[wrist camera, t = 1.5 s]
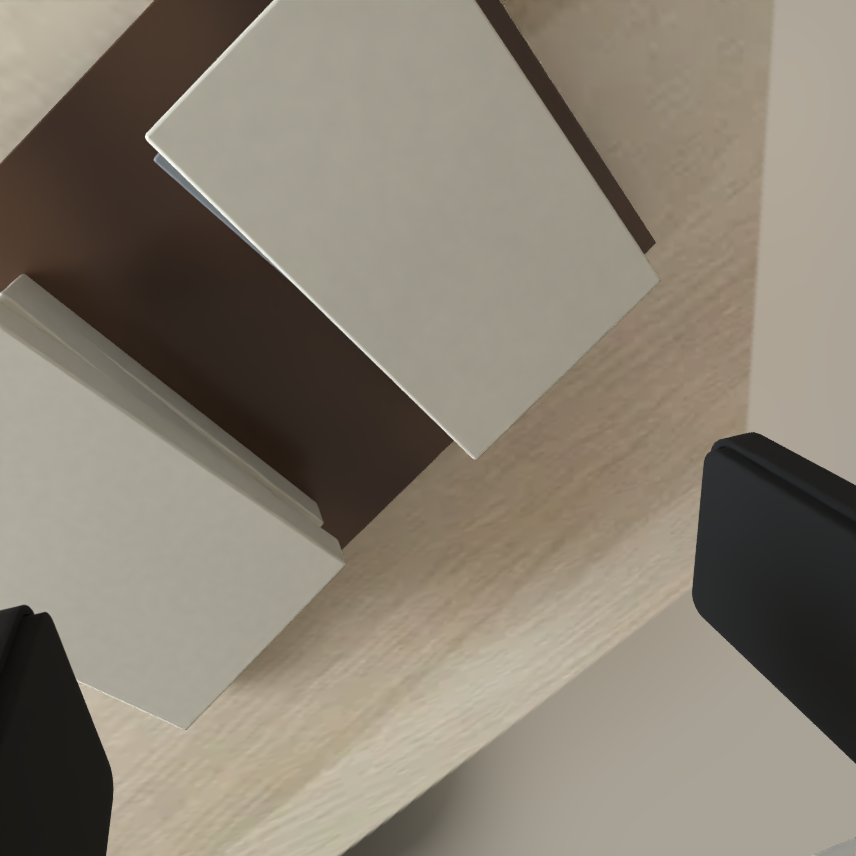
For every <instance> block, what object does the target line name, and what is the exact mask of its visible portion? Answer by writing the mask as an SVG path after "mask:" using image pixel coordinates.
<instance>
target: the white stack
mask: <svg viewBox="0 0 856 856" xmlns="http://www.w3.org/2000/svg"><path fill="white" fill-rule="evenodd" d="M323 523H324V522H323V519H322V516H321V514H320V511H319V508H318V505H317V503H316V502H315V501H313V500H312V499H311V498H310V497H308V496H307V495H306V494H304V493H303V492H302V491H301V490H299V489H298V488H297V487H296V486H294V485H293V484H292V483H290V482H289V481H288V480H287V479H285V478H284V477H283V476H282V475H280V474H279V473H278V472H276V471H275V470H274V469H273V468H271V467H270V466H269V465H268V464H266V463H265V462H264V461H262V460H261V459H260V458H259V457H257V456H256V455H255V454H253V453H252V452H251V451H250V450H248V449H247V448H246V447H245V446H243V445H242V444H241V443H239V442H238V441H237V440H236V439H234V438H233V437H232V436H231V435H229V434H228V433H227V432H225V431H224V430H223V429H222V428H220V427H219V426H218V425H217V424H215V423H214V422H213V421H211V420H210V419H209V418H208V417H206V416H205V415H204V414H203V413H201V412H200V411H199V410H197V409H196V408H195V407H194V406H192V405H191V404H190V403H189V402H187V401H186V400H185V399H183V398H182V397H181V396H180V395H178V394H177V393H176V392H175V391H173V390H172V389H171V388H169V387H168V386H167V385H166V384H164V383H163V382H162V381H161V380H159V379H158V378H157V377H155V376H154V375H153V374H152V373H150V372H149V371H148V370H147V369H145V368H144V367H143V366H141V365H140V364H139V363H138V362H136V361H135V360H134V359H133V358H131V357H130V356H129V355H127V354H126V353H125V352H124V351H122V350H121V349H120V348H119V347H117V346H116V345H115V344H113V343H112V342H111V341H110V340H108V339H107V338H106V337H105V336H103V335H102V334H101V333H99V332H98V331H97V330H96V329H94V328H93V327H92V326H91V325H89V324H88V323H87V322H85V321H84V320H83V319H82V318H80V317H79V316H78V315H77V314H75V313H74V312H73V311H71V310H70V309H69V308H68V307H66V306H65V305H64V304H63V303H61V302H60V301H59V300H57V299H56V298H55V297H54V296H52V295H51V294H50V293H48V292H47V291H46V290H45V289H43V288H42V287H41V286H40V285H38V284H37V283H36V282H34V281H33V280H32V279H31V278H29V277H28V276H27V275H25V274H22V275H20V276H19V277H18V278H17V279H15V280H14V281H13V282H12V283H11V284H10V285H9V286H8V287H7V288H6V289H4V290H3V291H2V292H1V293H0V610H3V609H8V608H12V607H16V606H20V605H24V604H25V605H27V606H29V607H30V608H31V609H32V610H33V612H34V614H38V613H42V612H47V613H49V615H50V616H51V617H52V619H53V621H54V624H55V627H56V629H57V632H58V634H59V637H60V639H61V642H62V644H63V647H64V649H65V652H66V655H67V657H68V660H69V662H70V665H71V667H72V670H73V672H74V675H75V677H76V680H77V681H78V682H80V683H82V684H84V685H87V686H89V687H91V688H93V689H95V690H97V691H100V692H102V693H104V694H106V695H108V696H111V697H113V698H115V699H117V700H119V701H121V702H124V703H126V704H128V705H130V706H132V707H135V708H137V709H139V710H141V711H143V712H146V713H148V714H150V715H152V716H154V717H156V718H159V719H161V720H163V721H165V722H167V723H170V724H172V725H174V726H176V727H178V728H180V729H183V730H187V729H188V728H189V727H190V726H191V725H192V724H193V723H194V722H195V721H196V720H197V719H198V718H199V717H200V716H201V715H202V714H203V712H204V711H205V710H206V709H207V708H208V707H209V706H210V705H211V704H212V703H213V702H214V701H215V700H216V699H217V698H218V697H219V696H220V695H221V694H222V693H223V692H224V691H225V690H226V689H227V688H228V687H229V686H230V685H231V683H232V682H233V681H234V680H235V679H236V678H237V677H238V676H239V675H240V674H241V673H242V672H243V671H244V670H245V669H246V668H247V667H248V666H249V665H250V664H251V663H252V662H253V661H254V660H255V659H256V658H257V657H258V656H259V654H260V653H261V652H262V651H263V650H264V649H265V648H266V647H267V646H268V645H269V644H270V643H271V642H272V641H273V640H274V639H275V638H276V637H277V636H278V635H279V634H280V633H281V632H282V631H283V630H284V629H285V628H286V627H287V625H288V624H289V623H290V622H291V621H292V620H293V619H294V618H295V617H296V616H297V615H298V614H299V613H300V612H301V611H302V610H303V609H304V608H305V607H306V606H307V605H308V604H309V603H310V602H311V601H312V600H313V599H314V598H315V597H316V595H317V594H318V593H319V592H320V591H321V590H322V589H323V588H324V587H325V586H326V585H327V584H328V583H329V582H330V581H331V580H332V579H333V578H334V577H335V576H336V575H337V574H338V573H339V572H340V571H341V570H342V569H343V568H344V566H345V565H346V561H345V558H344V555H343V553H342V550H341V547H340V544H339V542H338V540H337V539H336V538H335V537H333V536H332V535H330V534H329V533H328V532H326V531H325V530H323V529H322V528H321V526H322V525H323Z"/></svg>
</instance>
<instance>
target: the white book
mask: <svg viewBox="0 0 856 856" xmlns="http://www.w3.org/2000/svg"><path fill="white" fill-rule="evenodd" d="M145 138H146V140H147V141H148V142H149V143H150V144H151V145H152V146H153V147H154V148H155V149H156V150H157V151H158V152H159V153H160V154H161V155H162V156H163V157H164V158H165V159H166V160H167V161H168V162H169V163H170V164H171V165H172V166H173V167H174V168H175V169H176V170H177V171H178V172H179V173H180V174H181V175H182V176H183V177H184V178H186V179H187V180H188V181H189V182H190V183H191V184H192V185H193V186H194V187H195V188H196V189H197V190H198V191H199V192H200V193H201V194H202V195H203V196H204V197H205V198H206V199H207V200H208V201H209V202H210V203H211V204H212V205H213V206H214V207H215V208H216V209H217V210H218V211H219V212H220V213H221V214H222V215H223V216H224V217H225V218H227V219H228V220H229V221H230V222H231V223H232V224H233V225H234V226H235V227H236V228H237V229H238V230H239V231H240V232H241V233H242V234H243V235H244V236H245V237H246V238H247V239H248V240H249V241H250V242H251V243H252V244H253V245H254V246H255V247H256V248H257V249H258V250H259V251H260V252H261V253H262V254H263V255H264V256H265V257H266V258H268V259H269V260H270V261H271V262H272V263H273V264H274V265H275V266H276V267H277V268H278V269H279V270H280V271H281V272H282V273H283V274H284V275H285V276H286V277H287V278H288V279H289V280H290V281H291V282H292V283H293V284H294V285H295V286H296V287H297V288H298V289H299V290H300V291H301V292H302V293H303V294H304V295H305V296H306V297H307V298H308V299H310V300H311V301H312V302H313V303H314V304H315V305H316V306H317V307H318V308H319V309H320V310H321V311H322V312H323V313H324V314H325V315H326V316H327V317H328V318H329V319H330V320H331V321H332V322H333V323H334V324H335V325H336V326H337V327H338V328H339V329H340V330H341V331H342V332H343V333H344V334H345V335H346V336H347V337H348V338H349V339H351V340H352V341H353V342H354V343H355V344H356V345H357V346H358V347H359V348H360V349H361V350H362V351H363V352H364V353H365V354H366V355H367V356H368V357H369V358H370V359H371V360H372V361H373V362H374V363H375V364H376V365H377V366H378V367H379V368H380V369H381V370H382V371H383V372H384V373H385V374H386V375H387V376H388V377H389V378H390V379H392V380H393V381H394V382H395V383H396V384H397V385H398V386H399V387H400V388H401V389H402V390H403V391H404V392H405V393H406V394H407V395H408V396H409V397H410V398H411V399H412V400H413V401H414V402H415V403H416V404H417V405H418V406H419V407H420V408H421V409H422V410H423V411H424V412H425V413H426V414H427V415H428V416H429V417H430V418H431V419H433V420H434V421H435V422H436V423H437V424H438V425H439V426H440V427H441V428H442V429H443V430H444V431H445V432H446V433H447V434H448V435H449V436H450V437H451V438H452V439H453V440H454V441H455V442H456V443H457V444H458V445H459V446H460V447H461V448H462V449H463V450H464V451H465V452H466V453H467V454H468V455H469V456H470V457H471V458H472V459H475V460H477V459H478V458H479V457H480V456H481V455H482V454H483V453H484V452H485V451H486V450H487V449H488V448H490V447H491V446H492V445H493V444H494V443H495V442H496V441H497V440H498V439H499V438H500V437H501V436H502V435H503V434H504V433H505V432H506V431H507V430H508V429H509V428H510V427H511V426H512V425H513V424H514V423H515V422H516V421H517V420H518V419H519V418H520V417H521V416H522V415H523V414H524V413H526V412H527V411H528V410H529V409H530V408H531V407H532V406H533V405H534V404H535V403H536V402H537V401H538V400H539V399H540V398H541V397H542V396H543V395H544V394H545V393H546V392H547V391H548V390H549V389H550V388H551V387H552V386H553V385H554V384H555V383H556V382H557V381H558V380H559V379H560V378H562V377H563V376H564V375H565V374H566V373H567V372H568V371H569V370H570V369H571V368H572V367H573V366H574V365H575V364H576V363H577V362H578V361H579V360H580V359H581V358H582V357H583V356H584V355H585V354H586V353H587V352H588V351H589V350H590V349H591V348H592V347H593V346H594V345H595V344H596V343H598V342H599V341H600V340H601V339H602V338H603V337H604V336H605V335H606V334H607V333H608V332H609V331H610V330H611V329H612V328H613V327H614V326H615V325H616V324H617V323H618V322H619V321H620V320H621V319H622V318H623V317H624V316H625V315H626V314H627V313H628V312H629V311H630V310H631V309H632V308H634V307H635V306H636V305H637V304H638V303H639V302H640V301H641V300H642V299H643V298H644V297H645V296H646V295H647V294H648V293H649V292H650V291H651V290H652V289H653V288H654V287H655V286H656V285H657V284H658V283H659V282H660V277H659V276H658V274H657V273H656V271H655V270H654V268H653V267H652V265H651V264H650V262H649V261H648V259H647V258H646V256H645V255H644V253H643V252H642V250H641V249H640V247H639V246H638V244H637V243H636V241H635V240H634V238H633V237H632V235H631V234H630V232H629V231H628V229H627V228H626V226H625V225H624V223H623V222H622V220H621V219H620V217H619V216H618V214H617V213H616V211H615V210H614V208H613V207H612V205H611V204H610V202H609V201H608V199H607V198H606V196H605V195H604V193H603V192H602V190H601V189H600V187H599V186H598V184H597V183H596V181H595V180H594V178H593V177H592V175H591V174H590V172H589V171H588V169H587V168H586V166H585V165H584V163H583V162H582V160H581V159H580V157H579V156H578V154H577V153H576V151H575V150H574V148H573V147H572V145H571V144H570V142H569V141H568V139H567V138H566V136H565V135H564V133H563V132H562V130H561V129H560V127H559V126H558V124H557V123H556V121H555V120H554V118H553V117H552V115H551V114H550V112H549V111H548V109H547V108H546V106H545V105H544V103H543V102H542V100H541V99H540V97H539V96H538V94H537V93H536V91H535V90H534V88H533V87H532V85H531V84H530V82H529V81H528V79H527V78H526V76H525V74H524V73H523V71H522V70H521V68H520V67H519V65H518V64H517V62H516V61H515V59H514V58H513V56H512V55H511V53H510V52H509V50H508V49H507V47H506V46H505V44H504V43H503V41H502V40H501V38H500V37H499V35H498V34H497V32H496V31H495V29H494V28H493V26H492V25H491V23H490V22H489V20H488V19H487V17H486V16H485V14H484V13H483V11H482V10H481V8H480V7H479V5H478V4H477V2H476V1H475V0H273V1H272V2H271V3H270V4H269V5H268V7H267V8H266V9H265V10H264V11H263V12H262V13H261V14H260V15H259V16H258V17H257V18H256V19H255V20H254V21H253V22H252V23H251V24H250V25H249V26H248V27H247V28H246V30H245V31H244V32H243V33H242V34H241V35H240V36H239V37H238V38H237V39H236V40H235V41H234V42H233V43H232V44H231V45H230V46H229V47H228V48H227V49H226V50H225V51H224V53H223V54H222V55H221V56H220V57H219V58H218V59H217V60H216V61H215V62H214V63H213V64H212V65H211V66H210V67H209V68H208V69H207V70H206V71H205V72H204V73H203V74H202V75H201V77H200V78H199V79H198V80H197V81H196V82H195V83H194V84H193V85H192V86H191V87H190V88H189V89H188V90H187V91H186V92H185V93H184V94H183V95H182V96H181V97H180V98H179V100H178V101H177V102H176V103H175V104H174V105H173V106H172V107H171V108H170V109H169V110H168V111H167V112H166V113H165V114H164V115H163V116H162V117H161V118H160V119H159V120H158V121H157V123H156V124H155V125H154V126H153V127H152V128H151V129H150V130H149V131H148V132H147V133H146V135H145Z"/></svg>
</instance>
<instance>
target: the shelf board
mask: <svg viewBox="0 0 856 856" xmlns="http://www.w3.org/2000/svg"><path fill="white" fill-rule="evenodd" d="M272 1H273V0H154V1H153V2H152V3H151V5H150V6H149V7H148V8H147V9H146V10H145V11H144V12H143V13H142V14H141V15H140V16H139V17H138V18H137V19H136V20H135V21H134V23H133V24H132V25H131V26H130V27H129V28H128V29H127V30H126V31H125V32H124V33H123V34H122V35H121V36H120V37H119V38H118V39H117V41H116V42H115V43H114V44H113V45H112V46H111V47H110V48H109V49H108V50H107V51H106V52H105V53H104V54H103V55H102V56H101V57H100V59H99V60H98V61H97V62H96V63H95V64H94V65H93V66H92V67H91V68H90V69H89V70H88V71H87V72H86V73H85V74H84V75H83V77H82V78H81V79H80V80H79V81H78V82H77V83H76V84H75V85H74V86H73V87H72V88H71V89H70V90H69V91H68V92H67V93H66V95H65V96H64V97H63V98H62V99H61V100H60V101H59V102H58V103H57V104H56V105H55V106H54V107H53V108H52V109H51V110H50V111H49V113H48V114H47V115H46V116H45V117H44V118H43V119H42V120H41V121H40V122H39V123H38V124H37V125H36V126H35V127H34V128H33V129H32V131H31V132H30V133H29V134H28V135H27V136H26V137H25V138H24V139H23V140H22V141H21V142H20V143H19V144H18V145H17V146H16V147H15V149H14V150H13V151H12V152H11V153H10V154H9V155H8V156H7V157H6V158H5V159H4V160H3V161H2V162H1V163H0V293H1V292H2V291H3V290H4V289H6V288H7V287H8V286H9V285H10V284H11V283H12V282H13V281H14V280H15V279H17V278H18V277H19V276H20V275H22V274H25V275H27V276H28V277H29V278H31V279H32V280H33V281H34V282H36V283H37V284H38V285H40V286H41V287H42V288H43V289H45V290H46V291H47V292H48V293H50V294H51V295H52V296H54V297H55V298H56V299H57V300H59V301H60V302H61V303H63V304H64V305H65V306H66V307H68V308H69V309H70V310H71V311H73V312H74V313H75V314H77V315H78V316H79V317H80V318H82V319H83V320H84V321H85V322H87V323H88V324H89V325H91V326H92V327H93V328H94V329H96V330H97V331H98V332H99V333H101V334H102V335H103V336H105V337H106V338H107V339H108V340H110V341H111V342H112V343H113V344H115V345H116V346H117V347H119V348H120V349H121V350H122V351H124V352H125V353H126V354H127V355H129V356H130V357H131V358H133V359H134V360H135V361H136V362H138V363H139V364H140V365H141V366H143V367H144V368H145V369H147V370H148V371H149V372H150V373H152V374H153V375H154V376H155V377H157V378H158V379H159V380H161V381H162V382H163V383H164V384H166V385H167V386H168V387H169V388H171V389H172V390H173V391H175V392H176V393H177V394H178V395H180V396H181V397H182V398H183V399H185V400H186V401H187V402H189V403H190V404H191V405H192V406H194V407H195V408H196V409H197V410H199V411H200V412H201V413H203V414H204V415H205V416H206V417H208V418H209V419H210V420H211V421H213V422H214V423H215V424H217V425H218V426H219V427H220V428H222V429H223V430H224V431H225V432H227V433H228V434H229V435H231V436H232V437H233V438H234V439H236V440H237V441H238V442H239V443H241V444H242V445H243V446H245V447H246V448H247V449H248V450H250V451H251V452H252V453H253V454H255V455H256V456H257V457H259V458H260V459H261V460H262V461H264V462H265V463H266V464H268V465H269V466H270V467H271V468H273V469H274V470H275V471H276V472H278V473H279V474H280V475H282V476H283V477H284V478H285V479H287V480H288V481H289V482H290V483H292V484H293V485H294V486H296V487H297V488H298V489H299V490H301V491H302V492H303V493H304V494H306V495H307V496H308V497H310V498H311V499H312V500H313V501H315V502H316V503H317V505H318V508H319V511H320V514H321V516H322V519H323V522H324V523H323V525H322V526H321V528H322V529H323V530H325V531H326V532H328V533H329V534H330V535H332V536H333V537H335V538H336V539H337V540H338V542H339V544H340V547H341V550H342V549H343V548H344V547H345V546H346V545H347V544H348V543H349V542H350V541H351V540H352V539H353V538H354V537H355V536H357V535H358V534H359V533H360V532H361V531H362V530H363V529H364V528H365V527H366V526H367V525H368V524H369V523H370V522H371V521H372V520H373V519H374V518H375V517H376V516H377V515H378V514H379V513H380V512H381V511H382V510H383V509H384V508H385V507H386V506H387V505H388V504H389V503H390V502H391V501H392V500H393V499H394V498H395V497H396V496H397V495H398V494H400V493H401V492H402V491H403V490H404V489H405V488H406V487H407V486H408V485H409V484H410V483H411V482H412V481H413V480H414V479H415V478H416V477H417V476H418V475H419V474H420V473H421V472H422V471H423V470H424V469H425V468H426V467H427V466H428V465H429V464H430V463H431V462H432V461H433V460H434V459H435V458H436V457H437V456H438V455H439V454H440V453H441V452H443V451H444V450H445V449H446V448H447V447H448V446H449V445H450V444H451V443H452V442H453V441H454V440H453V439H452V438H451V437H450V436H449V435H448V434H447V433H446V432H445V431H444V430H443V429H442V428H441V427H440V426H439V425H438V424H437V423H436V422H435V421H434V420H433V419H431V418H430V417H429V416H428V415H427V414H426V413H425V412H424V411H423V410H422V409H421V408H420V407H419V406H418V405H417V404H416V403H415V402H414V401H413V400H412V399H411V398H410V397H409V396H408V395H407V394H406V393H405V392H404V391H403V390H402V389H401V388H400V387H399V386H398V385H397V384H396V383H395V382H394V381H393V380H392V379H390V378H389V377H388V376H387V375H386V374H385V373H384V372H383V371H382V370H381V369H380V368H379V367H378V366H377V365H376V364H375V363H374V362H373V361H372V360H371V359H370V358H369V357H368V356H367V355H366V354H365V353H364V352H363V351H362V350H361V349H360V348H359V347H358V346H357V345H356V344H355V343H354V342H353V341H352V340H351V339H349V338H348V337H347V336H346V335H345V334H344V333H343V332H342V331H341V330H340V329H339V328H338V327H337V326H336V325H335V324H334V323H333V322H332V321H331V320H330V319H329V318H328V317H327V316H326V315H325V314H324V313H323V312H322V311H321V310H320V309H319V308H318V307H317V306H316V305H315V304H314V303H313V302H312V301H311V300H310V299H308V298H307V297H306V296H305V295H304V294H303V293H302V292H301V291H300V290H299V289H298V288H297V287H296V286H295V285H294V284H293V283H292V282H291V281H290V280H288V279H287V278H286V277H285V276H284V275H283V274H282V273H280V272H279V271H278V270H277V269H276V268H275V267H274V266H272V265H271V264H270V263H269V262H268V261H267V260H266V259H265V258H263V257H262V256H261V255H260V254H259V253H258V252H257V251H255V250H254V249H253V248H252V247H251V246H250V245H249V244H247V243H246V242H245V241H244V240H243V239H242V238H241V237H240V236H238V235H237V234H236V233H235V232H234V231H233V230H232V229H230V228H229V227H228V226H227V225H226V224H225V223H224V222H222V221H221V220H220V219H219V218H218V217H217V216H216V215H215V214H213V213H212V212H211V211H210V210H209V209H208V208H207V207H205V206H204V205H203V204H202V203H201V202H200V201H199V200H197V199H196V198H195V197H194V196H193V195H192V194H191V193H189V192H188V191H187V190H186V189H185V188H184V187H183V186H182V185H180V184H179V183H178V182H177V181H176V180H175V179H174V178H172V177H171V176H170V175H169V174H168V173H167V172H166V171H164V170H163V169H162V168H161V167H160V166H159V165H158V164H157V163H155V161H154V157H155V156H156V155H157V154H158V153H159V152H158V151H157V150H156V149H155V148H154V147H153V146H152V145H151V144H150V143H149V142H148V141H147V140H146V138H145V135H146V133H147V132H148V131H149V130H150V129H151V128H152V127H153V126H154V125H155V124H156V123H157V121H158V120H159V119H160V118H161V117H162V116H163V115H164V114H165V113H166V112H167V111H168V110H169V109H170V108H171V107H172V106H173V105H174V104H175V103H176V102H177V101H178V100H179V98H180V97H181V96H182V95H183V94H184V93H185V92H186V91H187V90H188V89H189V88H190V87H191V86H192V85H193V84H194V83H195V82H196V81H197V80H198V79H199V78H200V77H201V75H202V74H203V73H204V72H205V71H206V70H207V69H208V68H209V67H210V66H211V65H212V64H213V63H214V62H215V61H216V60H217V59H218V58H219V57H220V56H221V55H222V54H223V53H224V51H225V50H226V49H227V48H228V47H229V46H230V45H231V44H232V43H233V42H234V41H235V40H236V39H237V38H238V37H239V36H240V35H241V34H242V33H243V32H244V31H245V30H246V28H247V27H248V26H249V25H250V24H251V23H252V22H253V21H254V20H255V19H256V18H257V17H258V16H259V15H260V14H261V13H262V12H263V11H264V10H265V9H266V8H267V7H268V5H269V4H270V3H271V2H272ZM475 1H476V2H477V4H478V5H479V7H480V8H481V10H482V11H483V13H484V14H485V16H486V17H487V19H488V20H489V22H490V23H491V25H492V26H493V28H494V29H495V31H496V32H497V34H498V35H499V37H500V38H501V40H502V41H503V43H504V44H505V46H506V47H507V49H508V50H509V52H510V53H511V55H512V56H513V58H514V59H515V61H516V62H517V64H518V65H519V67H520V68H521V70H522V71H523V73H524V74H525V76H526V78H527V79H528V81H529V82H530V84H531V85H532V87H533V88H534V90H535V91H536V93H537V94H538V96H539V97H540V99H541V100H542V102H543V103H544V105H545V106H546V108H547V109H548V111H549V112H550V114H551V115H552V117H553V118H554V120H555V121H556V123H557V124H558V126H559V127H560V129H561V130H562V132H563V133H564V135H565V136H566V138H567V139H568V141H569V142H570V144H571V145H572V147H573V148H574V150H575V151H576V153H577V154H578V156H579V157H580V159H581V160H582V162H583V163H584V165H585V166H586V168H587V169H588V171H589V172H590V174H591V175H592V177H593V178H594V180H595V181H596V183H597V184H598V186H599V187H600V189H601V190H602V192H603V193H604V195H605V196H606V198H607V199H608V201H609V202H610V204H611V205H612V207H613V208H614V210H615V211H616V213H617V214H618V216H619V217H620V219H621V220H622V222H623V223H624V225H625V226H626V228H627V229H628V231H629V232H630V234H631V235H632V237H633V238H634V240H635V241H636V243H637V244H638V246H639V247H640V249H641V250H642V252H643V253H644V254H645V253H646V252H647V251H648V250H649V249H650V248H651V247H652V246H653V245H654V244H655V243H656V242H655V240H654V239H653V237H652V236H651V234H650V233H649V231H648V230H647V228H646V227H645V225H644V223H643V222H642V220H641V219H640V217H639V216H638V214H637V213H636V211H635V210H634V208H633V206H632V205H631V203H630V202H629V200H628V199H627V197H626V196H625V194H624V193H623V191H622V189H621V188H620V186H619V185H618V183H617V182H616V180H615V179H614V177H613V176H612V174H611V172H610V171H609V169H608V168H607V166H606V165H605V163H604V162H603V160H602V159H601V157H600V155H599V154H598V152H597V151H596V149H595V148H594V146H593V145H592V143H591V142H590V140H589V138H588V137H587V135H586V134H585V132H584V131H583V129H582V128H581V126H580V125H579V123H578V121H577V120H576V118H575V117H574V115H573V114H572V112H571V111H570V109H569V108H568V106H567V104H566V103H565V101H564V100H563V98H562V97H561V95H560V94H559V92H558V91H557V89H556V88H555V86H554V84H553V83H552V81H551V80H550V78H549V77H548V75H547V74H546V72H545V71H544V69H543V67H542V66H541V64H540V63H539V61H538V60H537V58H536V57H535V55H534V54H533V52H532V50H531V49H530V47H529V46H528V44H527V43H526V41H525V40H524V38H523V37H522V35H521V33H520V32H519V30H518V29H517V27H516V26H515V24H514V23H513V21H512V20H511V18H510V16H509V15H508V13H507V12H506V10H505V9H504V7H503V6H502V4H501V3H500V1H499V0H475Z"/></svg>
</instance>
